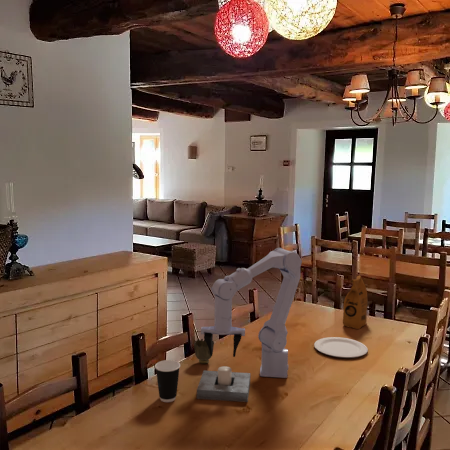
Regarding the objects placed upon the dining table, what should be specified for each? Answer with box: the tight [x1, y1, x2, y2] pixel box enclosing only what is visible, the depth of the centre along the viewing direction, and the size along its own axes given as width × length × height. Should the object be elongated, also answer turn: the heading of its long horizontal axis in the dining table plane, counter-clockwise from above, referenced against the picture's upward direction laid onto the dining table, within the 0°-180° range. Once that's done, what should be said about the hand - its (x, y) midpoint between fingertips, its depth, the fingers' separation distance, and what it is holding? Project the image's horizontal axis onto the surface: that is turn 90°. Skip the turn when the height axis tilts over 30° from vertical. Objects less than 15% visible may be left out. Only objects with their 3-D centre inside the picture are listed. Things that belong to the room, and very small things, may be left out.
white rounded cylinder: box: [217, 365, 233, 386], centre depth 157 cm, size 4×4×7 cm
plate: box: [313, 336, 369, 359], centre depth 191 cm, size 21×21×2 cm
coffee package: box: [342, 275, 368, 330], centre depth 219 cm, size 10×12×22 cm
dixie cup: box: [154, 359, 181, 403], centre depth 150 cm, size 8×8×11 cm
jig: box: [196, 369, 251, 403], centre depth 157 cm, size 16×14×3 cm
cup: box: [193, 338, 215, 365], centre depth 177 cm, size 8×7×8 cm
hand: (222, 355), depth 160 cm, fingers open, 7 cm apart
